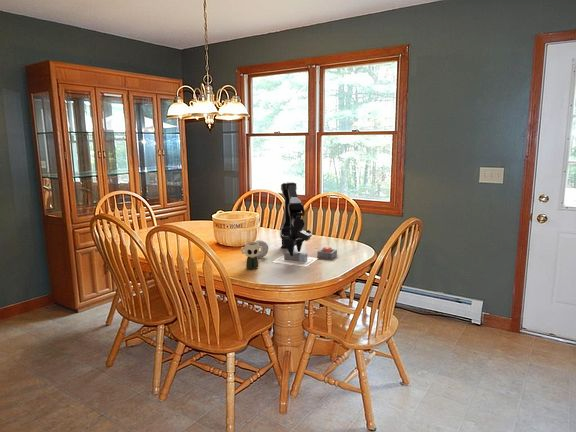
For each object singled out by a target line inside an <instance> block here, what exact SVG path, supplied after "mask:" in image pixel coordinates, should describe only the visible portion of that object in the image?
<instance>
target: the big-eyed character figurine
mask: <svg viewBox="0 0 576 432" xmlns="http://www.w3.org/2000/svg"><path fill="white" fill-rule="evenodd" d="M240 252H241V254H244V255H245V256H246V257H247V258H246V261H245V262H246V264H245V266H246V269H248V270H249V269H250V270H253V269H258V268H259V262H258V261H259V260H258V259H259V258H257V257H256V256H258V255H259V253H262V252H263V247H262V246H259V243H258V242H255V241H248V242H245V243H244V246H242V247H241V248H240Z"/></svg>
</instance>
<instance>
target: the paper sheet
mask: <svg viewBox="0 0 576 432" xmlns="http://www.w3.org/2000/svg"><path fill="white" fill-rule="evenodd" d="M318 259H320V258H317V257H313V256H311V257H310V256H307V261H306V262H298V261H291V260H284V254H283V255H282V256H280V257H278V258H276V259H275V260H272V263H276V264H283V265H291V266H297V267H302V268H303V267H304V268H307V267H309V265H311V264H313V263H314V262H316V261H317V260H318Z"/></svg>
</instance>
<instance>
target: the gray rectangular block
mask: <svg viewBox="0 0 576 432" xmlns="http://www.w3.org/2000/svg"><path fill="white" fill-rule="evenodd" d="M283 255H284V260H291V261H298V262H306V261H307V257H308V252H306V253H305V252H295V251H294V252H293V256H291V255H290V253H289V251H288V250H287V251H285V252H283Z"/></svg>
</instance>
